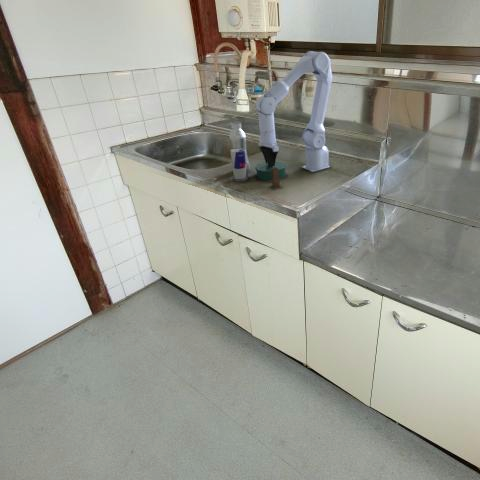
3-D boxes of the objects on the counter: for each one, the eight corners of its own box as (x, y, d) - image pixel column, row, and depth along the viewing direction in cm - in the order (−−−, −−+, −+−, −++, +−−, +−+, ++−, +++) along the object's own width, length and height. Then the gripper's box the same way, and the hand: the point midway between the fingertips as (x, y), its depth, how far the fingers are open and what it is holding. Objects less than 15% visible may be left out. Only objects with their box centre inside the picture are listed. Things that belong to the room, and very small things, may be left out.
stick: (272, 187, 136) (270, 168, 132) (277, 186, 137) (276, 167, 133) (274, 189, 134) (272, 169, 130) (280, 187, 135) (278, 168, 131)
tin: (275, 169, 153) (274, 160, 150) (290, 176, 145) (290, 167, 143) (252, 176, 146) (251, 166, 144) (267, 183, 139) (266, 174, 137)
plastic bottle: (253, 171, 151) (248, 122, 141) (240, 175, 147) (233, 125, 137) (244, 168, 155) (238, 120, 145) (231, 172, 151) (224, 123, 141)
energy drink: (246, 182, 141) (242, 152, 135) (233, 182, 141) (228, 152, 135) (249, 177, 145) (245, 147, 139) (236, 177, 146) (231, 148, 139)
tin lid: (275, 161, 151) (274, 151, 149) (292, 168, 143) (291, 157, 141) (249, 168, 145) (248, 157, 142) (265, 176, 137) (264, 164, 134)
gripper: (250, 128, 140) (254, 161, 147) (264, 136, 129) (268, 172, 136) (267, 125, 143) (270, 159, 150) (282, 133, 132) (285, 169, 139)
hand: (270, 165), depth 143 cm, fingers closed on tin lid, 2 cm apart
